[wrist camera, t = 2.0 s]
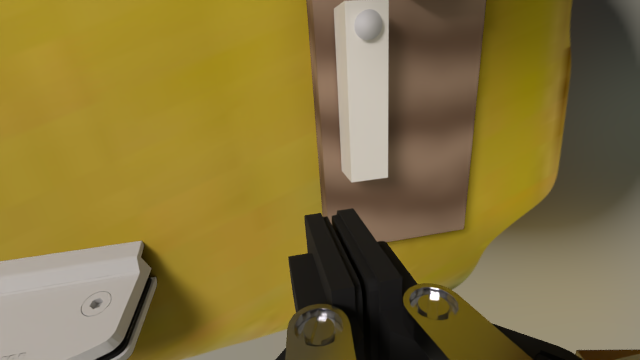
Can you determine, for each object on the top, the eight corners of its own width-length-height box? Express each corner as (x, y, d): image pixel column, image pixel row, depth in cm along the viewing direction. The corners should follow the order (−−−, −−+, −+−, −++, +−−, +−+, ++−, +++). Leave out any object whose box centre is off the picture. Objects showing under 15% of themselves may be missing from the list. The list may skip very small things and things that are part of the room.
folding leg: (333, 8, 23) (346, -1, 20) (372, 6, 24) (391, -3, 21) (341, 170, 28) (353, 184, 24) (374, 166, 28) (390, 179, 25)
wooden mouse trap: (303, -36, 24) (316, -64, 19) (470, -41, 26) (521, -67, 21) (324, 238, 33) (337, 270, 28) (449, 218, 35) (483, 244, 30)
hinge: (146, 239, 29) (115, 353, 22) (162, 270, 32) (140, 379, 25) (-69, 271, 27) (-188, 413, 19) (-29, 301, 30) (-119, 434, 22)
